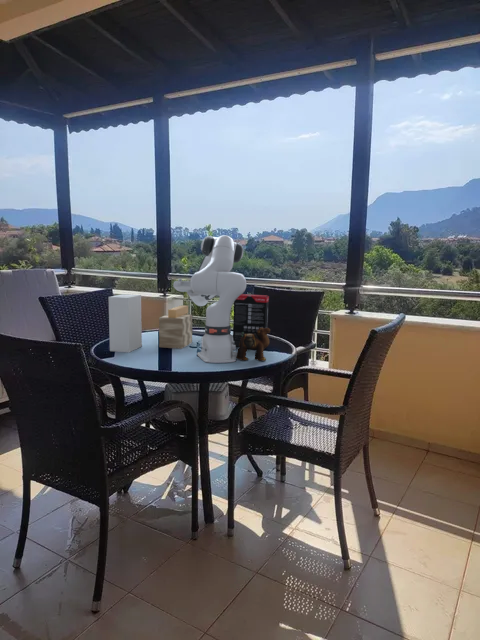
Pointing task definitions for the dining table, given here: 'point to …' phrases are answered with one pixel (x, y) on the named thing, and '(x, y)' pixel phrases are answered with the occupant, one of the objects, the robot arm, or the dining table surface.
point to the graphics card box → (249, 315)
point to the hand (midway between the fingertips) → (187, 280)
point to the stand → (125, 323)
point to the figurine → (253, 344)
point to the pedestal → (175, 331)
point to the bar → (177, 311)
